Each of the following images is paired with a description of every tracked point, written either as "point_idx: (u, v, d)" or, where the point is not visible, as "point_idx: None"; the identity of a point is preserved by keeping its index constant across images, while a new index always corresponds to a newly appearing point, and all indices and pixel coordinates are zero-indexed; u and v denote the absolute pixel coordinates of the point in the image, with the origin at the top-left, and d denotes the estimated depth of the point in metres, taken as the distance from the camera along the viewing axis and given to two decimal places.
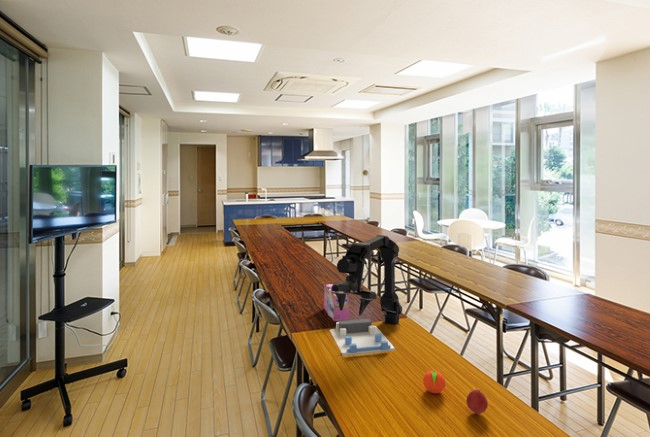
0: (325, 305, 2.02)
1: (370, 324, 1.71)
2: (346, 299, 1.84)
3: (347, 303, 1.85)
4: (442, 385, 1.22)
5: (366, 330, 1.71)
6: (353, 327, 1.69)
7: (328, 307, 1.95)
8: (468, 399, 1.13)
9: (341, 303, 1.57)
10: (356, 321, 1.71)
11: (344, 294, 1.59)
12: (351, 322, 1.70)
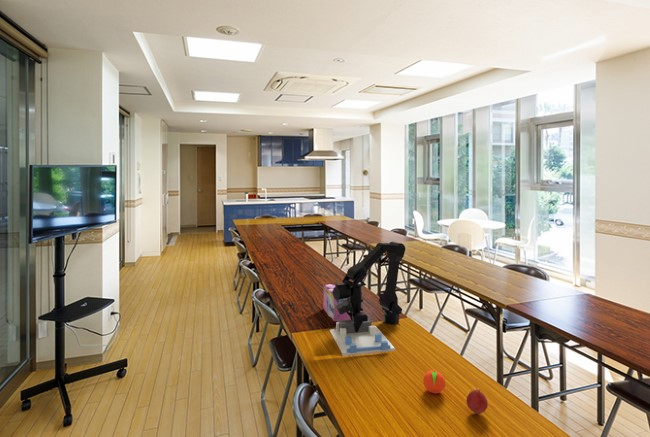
0: (325, 305, 2.01)
1: (370, 324, 1.71)
2: (346, 299, 1.84)
3: None
4: (442, 385, 1.22)
5: (366, 330, 1.71)
6: (353, 327, 1.69)
7: (328, 307, 1.94)
8: (468, 399, 1.13)
9: None
10: None
11: None
12: (351, 322, 1.70)
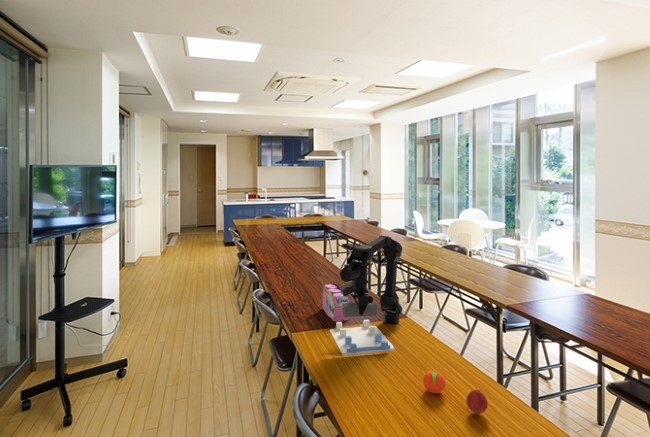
0: (324, 305, 2.01)
1: (375, 307, 1.61)
2: (346, 299, 1.84)
3: None
4: (442, 385, 1.22)
5: (371, 314, 1.61)
6: (358, 310, 1.60)
7: (327, 307, 1.94)
8: (468, 399, 1.13)
9: None
10: None
11: None
12: (355, 305, 1.61)
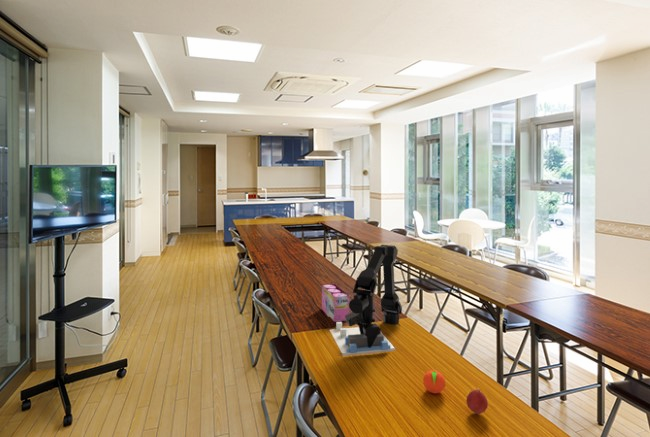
0: (323, 306, 2.00)
1: (382, 339, 1.55)
2: (346, 299, 1.84)
3: (347, 303, 1.84)
4: (442, 385, 1.22)
5: (378, 345, 1.55)
6: (364, 342, 1.54)
7: (327, 308, 1.93)
8: (468, 399, 1.13)
9: (361, 331, 1.60)
10: None
11: None
12: (361, 336, 1.55)
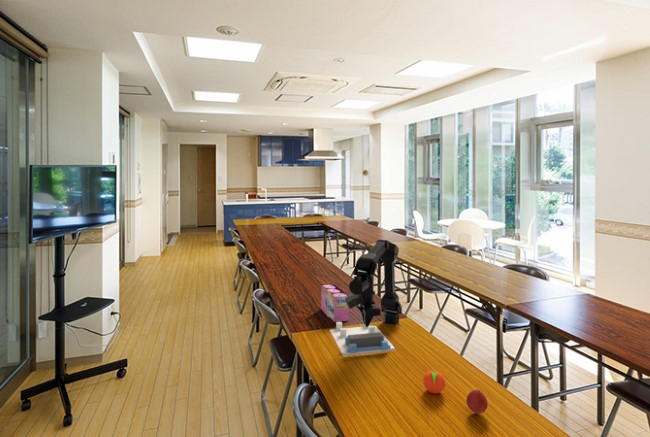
0: (323, 306, 2.00)
1: (382, 339, 1.55)
2: None
3: None
4: (442, 385, 1.22)
5: (378, 345, 1.55)
6: (364, 342, 1.54)
7: (327, 308, 1.93)
8: (468, 399, 1.13)
9: (364, 317, 1.56)
10: (367, 335, 1.56)
11: None
12: (361, 336, 1.55)
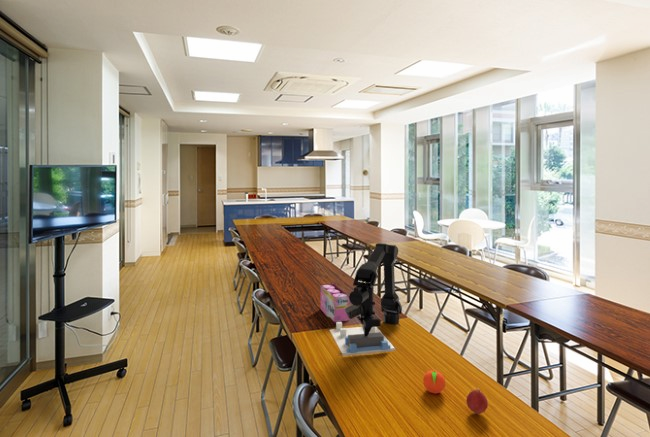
0: (322, 306, 2.00)
1: (382, 339, 1.55)
2: (346, 299, 1.83)
3: (347, 303, 1.84)
4: (442, 385, 1.22)
5: (378, 345, 1.55)
6: (364, 342, 1.54)
7: (326, 308, 1.93)
8: (468, 399, 1.13)
9: None
10: None
11: None
12: (361, 336, 1.55)
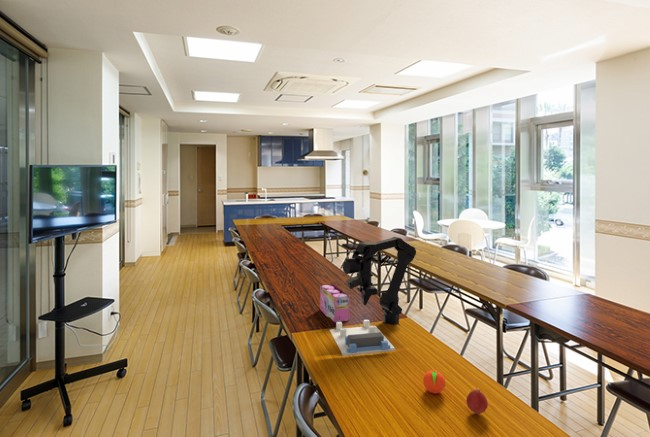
0: (322, 306, 1.99)
1: (382, 339, 1.55)
2: (346, 300, 1.83)
3: (347, 304, 1.84)
4: (442, 385, 1.22)
5: (378, 345, 1.55)
6: (364, 342, 1.54)
7: (326, 308, 1.93)
8: (468, 399, 1.13)
9: None
10: (367, 335, 1.56)
11: None
12: (361, 336, 1.55)
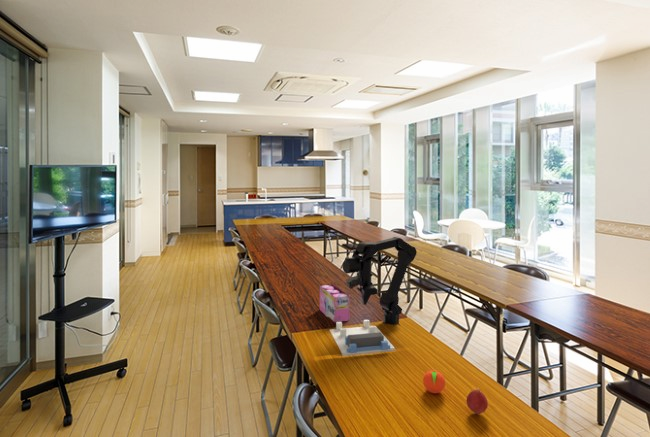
0: (321, 306, 1.99)
1: (382, 339, 1.55)
2: (346, 300, 1.83)
3: (347, 304, 1.84)
4: (442, 385, 1.22)
5: (378, 345, 1.55)
6: (364, 342, 1.54)
7: (326, 308, 1.92)
8: (468, 399, 1.13)
9: None
10: (367, 335, 1.56)
11: None
12: (361, 336, 1.55)
